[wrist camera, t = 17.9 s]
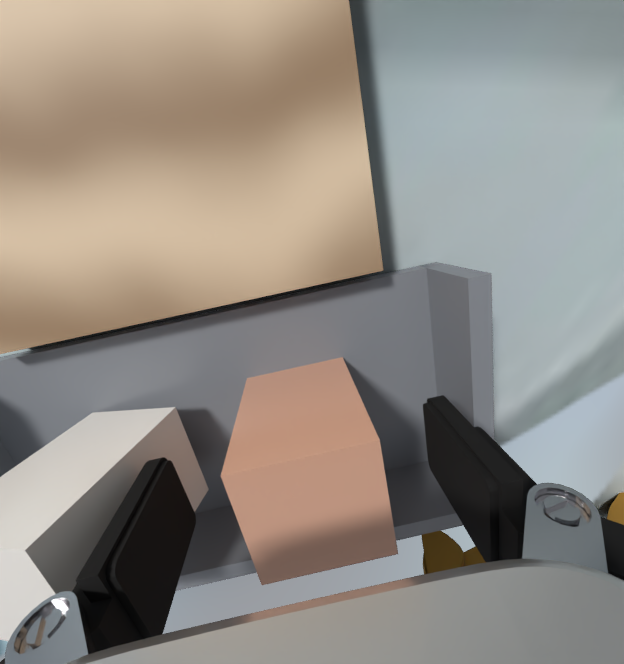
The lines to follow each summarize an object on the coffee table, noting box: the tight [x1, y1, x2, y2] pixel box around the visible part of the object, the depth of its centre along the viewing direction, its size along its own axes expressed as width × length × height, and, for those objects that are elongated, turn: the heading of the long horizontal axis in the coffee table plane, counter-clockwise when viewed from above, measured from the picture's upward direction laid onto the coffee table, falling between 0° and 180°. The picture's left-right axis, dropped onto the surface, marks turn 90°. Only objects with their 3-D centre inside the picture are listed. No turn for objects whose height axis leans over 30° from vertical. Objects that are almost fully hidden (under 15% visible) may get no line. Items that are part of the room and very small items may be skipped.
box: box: [0, 262, 494, 591], centre depth 14 cm, size 11×22×4 cm, turn 102°
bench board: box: [0, 0, 383, 354], centre depth 11 cm, size 14×16×2 cm
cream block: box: [0, 407, 209, 641], centre depth 12 cm, size 4×4×6 cm
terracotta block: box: [221, 357, 398, 585], centre depth 12 cm, size 4×4×6 cm
